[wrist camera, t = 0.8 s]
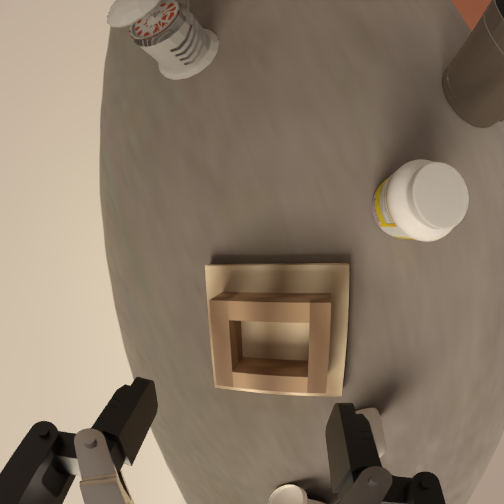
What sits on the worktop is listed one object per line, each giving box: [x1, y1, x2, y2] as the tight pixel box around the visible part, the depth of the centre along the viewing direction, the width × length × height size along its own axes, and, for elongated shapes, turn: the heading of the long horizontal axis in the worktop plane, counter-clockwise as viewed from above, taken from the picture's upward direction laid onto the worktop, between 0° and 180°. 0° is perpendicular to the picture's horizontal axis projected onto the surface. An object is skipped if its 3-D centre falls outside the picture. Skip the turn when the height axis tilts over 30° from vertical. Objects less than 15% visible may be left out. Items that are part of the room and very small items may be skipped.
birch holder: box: [205, 263, 349, 396], centre depth 30 cm, size 16×16×6 cm
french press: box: [107, 0, 219, 80], centre depth 20 cm, size 10×12×25 cm
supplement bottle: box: [372, 159, 469, 241], centre depth 22 cm, size 7×7×13 cm
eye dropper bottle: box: [355, 408, 386, 458], centre depth 25 cm, size 4×6×12 cm
